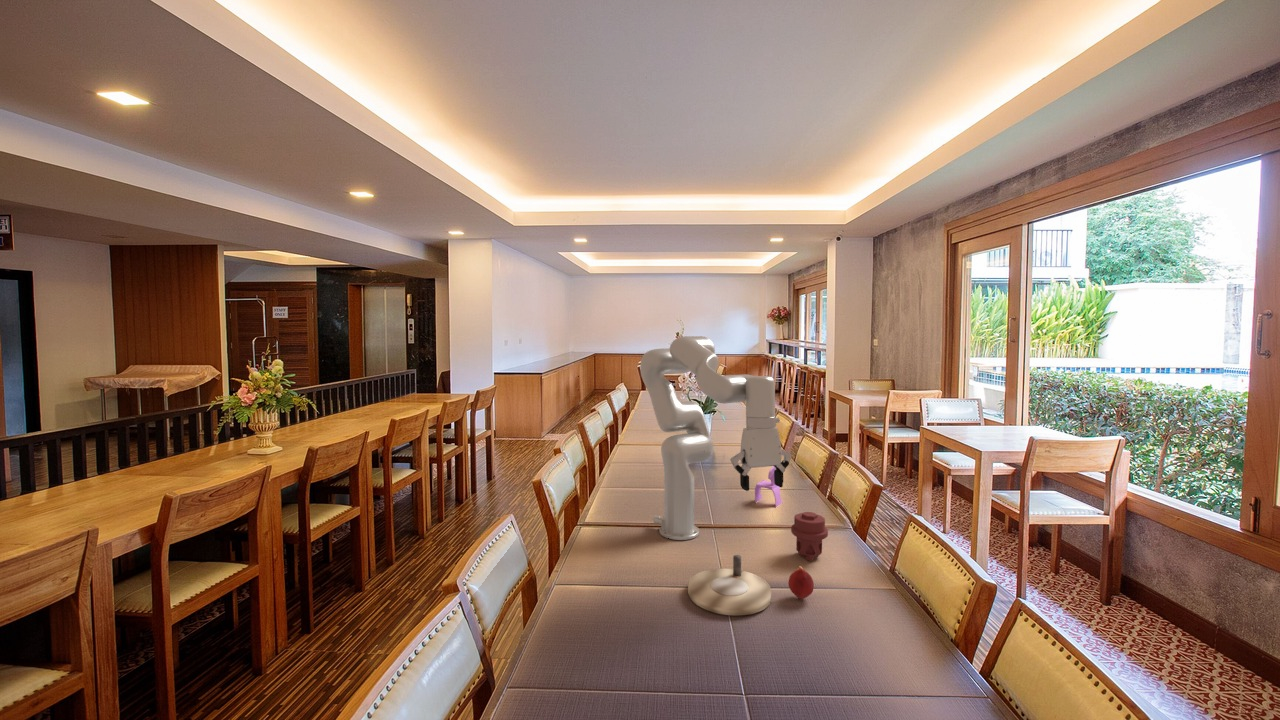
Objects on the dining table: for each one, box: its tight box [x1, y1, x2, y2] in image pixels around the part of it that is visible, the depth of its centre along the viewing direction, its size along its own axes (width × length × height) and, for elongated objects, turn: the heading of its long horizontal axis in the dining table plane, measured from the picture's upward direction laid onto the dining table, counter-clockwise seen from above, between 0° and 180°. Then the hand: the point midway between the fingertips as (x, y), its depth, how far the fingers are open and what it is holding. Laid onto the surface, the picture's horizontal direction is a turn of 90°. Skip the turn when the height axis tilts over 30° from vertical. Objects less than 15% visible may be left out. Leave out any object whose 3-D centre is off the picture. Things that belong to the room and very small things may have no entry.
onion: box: [788, 565, 815, 600], centre depth 128 cm, size 6×6×8 cm
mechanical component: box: [790, 511, 829, 562], centre depth 152 cm, size 12×10×10 cm
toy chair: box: [754, 466, 783, 508], centre depth 199 cm, size 8×9×15 cm
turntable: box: [687, 554, 772, 616], centre depth 130 cm, size 20×20×6 cm
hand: (762, 487), depth 140 cm, fingers open, 9 cm apart
